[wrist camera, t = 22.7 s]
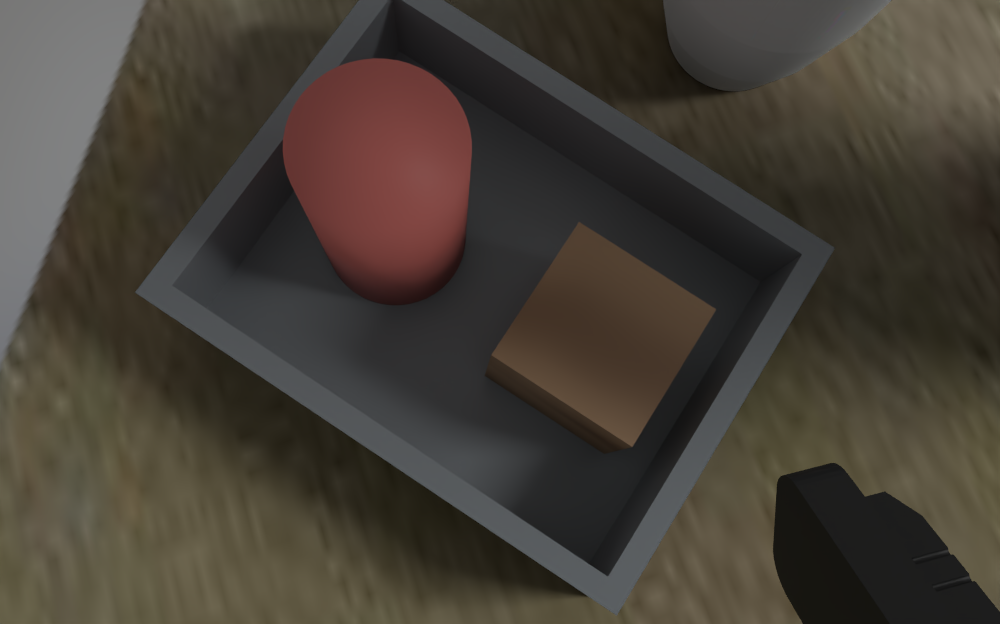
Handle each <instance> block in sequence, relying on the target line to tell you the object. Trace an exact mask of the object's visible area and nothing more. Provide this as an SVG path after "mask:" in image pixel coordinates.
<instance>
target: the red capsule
mask: <svg viewBox="0 0 1000 624" xmlns="http://www.w3.org/2000/svg"><path fill="white" fill-rule="evenodd" d="M471 157H472V139H471V132H470V127H469V124H468V120H467V117H466V115H465V113H464V111H463V108H462V107H461V105H460V103H459V102H458V100H457V98H456V97H455V96H454V95H453V93H452V92H451V91H450V90H449V88H447V87H446V86H445V85H444V84H443V83H442V82H441V81H440V80H439V79H437V78H436V77H435V76H433V75H432V74H430V73H429V72H427V71H425V70H423V69H421V68H419V67H417V66H414V65H412V64H409V63H406V62H402V61H398V60H392V59H379V58H372V59H363V60H358V61H353V62H349V63H346V64H343V65H341V66H338V67H336V68H334V69H332V70H330V71H328V72H326V73H325V74H323V75H322V76H321V77H319V78H318V79H316V80H315V81H314V82H313V83H312V84H311V85H310V86H308V88H307V89H306V90H305V91H304V92H303V93H302V94H301V96H300V97H299V99H298V100H297V102H296V103H295V105H294V106H293V108H292V111H291V113H290V115H289V117H288V120H287V123H286V126H285V131H284V137H283V158H284V165H285V169H286V173H287V176H288V178H289V181H290V183H291V185H292V187H293V189H294V191H295V193H296V195H297V197H298V199H299V201H300V203H301V205H302V207H303V209H304V211H305V213H306V215H307V217H308V219H309V221H310V223H311V225H312V227H313V229H314V231H315V233H316V235H317V237H318V239H319V241H320V242H321V244H322V246H323V248H324V250H325V252H326V254H327V256H328V258H329V260H330V262H331V264H332V266H333V268H334V270H335V271H336V273H337V275H338V276H339V278H340V279H341V280H342V281H343V283H345V284H346V285H347V286H348V287H349V288H350V289H351V290H352V291H354V292H355V293H356V294H358V295H360V296H361V297H363V298H365V299H368V300H370V301H373V302H376V303H380V304H386V305H405V304H411V303H415V302H418V301H421V300H423V299H426V298H428V297H430V296H432V295H433V294H435V293H436V292H438V291H439V290H440V289H442V288H443V287H444V286H445V285H446V284H447V283H448V282H449V281H450V279H451V278H452V277H453V276H454V274H455V272H456V271H457V269H458V267H459V265H460V262H461V260H462V257H463V253H464V248H465V240H466V226H467V212H468V198H469V184H470V171H471Z"/></svg>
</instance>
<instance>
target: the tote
mask: <svg viewBox="0 0 1000 624" xmlns="http://www.w3.org/2000/svg"><path fill="white" fill-rule="evenodd" d="M372 58H379V59H392V60H398V61H402V62H406V63H409V64H412V65H414V66H417V67H419V68H421V69H423V70H425V71H427V72H429V73H430V74H432V75H433V76H435V77H436V78H437V79H439V80H440V81H441V82H442V83H443V84H444V85H445V86H446V87H447V88H449V90H450V91H451V92H452V93H453V95H454V96H455V97H456V98H457V100H458V102H459V103H460V105H461V107H462V108H463V111H464V113H465V115H466V117H467V120H468V124H469V127H470V132H471V139H472V157H471V171H470V184H469V198H468V212H467V226H466V240H465V248H464V253H463V257H462V260H461V262H460V265H459V267H458V269H457V271H456V272H455V274H454V276H453V277H452V278H451V279H450V281H449V282H448V283H447V284H446V285H445V286H444V287H443V288H442V289H440V290H439V291H438V292H436V293H435V294H433V295H432V296H430V297H428V298H426V299H423V300H421V301H418V302H415V303H411V304H405V305H386V304H380V303H376V302H373V301H370V300H368V299H365V298H363V297H361V296H360V295H358V294H356V293H355V292H354V291H352V290H351V289H350V288H349V287H348V286H347V285H346V284H345V283H343V281H342V280H341V279H340V278H339V276H338V275H337V273H336V271H335V270H334V268H333V266H332V264H331V262H330V260H329V258H328V256H327V254H326V252H325V250H324V248H323V246H322V244H321V242H320V241H319V239H318V237H317V235H316V233H315V231H314V229H313V227H312V225H311V223H310V221H309V219H308V217H307V215H306V213H305V211H304V209H303V207H302V205H301V203H300V201H299V199H298V197H297V195H296V193H295V191H294V189H293V187H292V185H291V183H290V181H289V178H288V176H287V173H286V169H285V165H284V158H283V137H284V131H285V126H286V123H287V120H288V117H289V115H290V113H291V111H292V108H293V106H294V105H295V103H296V102H297V100H298V99H299V97H300V96H301V94H302V93H303V92H304V91H305V90H306V89H307V88H308V86H310V85H311V84H312V83H313V82H314V81H315V80H316V79H318V78H319V77H321V76H322V75H323V74H325V73H326V72H328V71H330V70H332V69H334V68H336V67H338V66H341V65H343V64H346V63H349V62H353V61H358V60H363V59H372ZM579 222H580V223H582V224H583V225H585V226H586V227H588V228H590V229H591V230H593V231H594V232H596V233H597V234H599V235H601V236H602V237H604V238H605V239H607V240H608V241H610V242H612V243H613V244H615V245H616V246H618V247H619V248H621V249H622V250H624V251H626V252H627V253H629V254H630V255H632V256H633V257H635V258H637V259H638V260H640V261H641V262H643V263H644V264H646V265H648V266H649V267H651V268H652V269H654V270H655V271H657V272H659V273H660V274H662V275H663V276H665V277H666V278H668V279H669V280H671V281H673V282H674V283H676V284H677V285H679V286H680V287H682V288H684V289H685V290H687V291H688V292H690V293H691V294H693V295H695V296H696V297H698V298H699V299H701V300H702V301H704V302H705V303H707V304H709V305H710V306H712V307H713V308H715V309H716V311H715V312H714V314H713V316H712V317H711V319H710V321H709V322H708V324H707V325H706V327H705V329H704V330H703V332H702V334H701V335H700V337H699V339H698V340H697V342H696V344H695V345H694V347H693V348H692V350H691V352H690V353H689V355H688V357H687V358H686V360H685V362H684V363H683V365H682V366H681V368H680V370H679V371H678V373H677V375H676V376H675V378H674V380H673V381H672V383H671V384H670V386H669V388H668V389H667V391H666V393H665V394H664V396H663V398H662V399H661V401H660V402H659V404H658V406H657V407H656V409H655V411H654V412H653V414H652V416H651V417H650V419H649V420H648V422H647V424H646V425H645V427H644V429H643V430H642V432H641V434H640V435H639V437H638V438H637V440H636V442H635V443H634V445H633V447H630V448H626V449H622V450H618V451H614V452H610V453H606V454H603V453H602V452H600V451H599V450H597V449H596V448H594V447H593V446H591V445H590V444H588V443H587V442H585V441H584V440H582V439H581V438H579V437H577V436H576V435H574V434H573V433H571V432H570V431H568V430H567V429H565V428H564V427H562V426H561V425H559V424H558V423H556V422H555V421H553V420H552V419H550V418H548V417H547V416H545V415H544V414H542V413H541V412H539V411H538V410H536V409H535V408H533V407H532V406H530V405H529V404H527V403H526V402H524V401H522V400H521V399H519V398H518V397H516V396H515V395H513V394H512V393H510V392H509V391H507V390H506V389H504V388H503V387H501V386H500V385H498V384H497V383H495V382H493V381H492V380H490V379H489V378H487V377H486V376H485V373H486V370H487V366H488V363H489V360H490V357H491V355H492V353H493V352H494V350H495V349H496V347H497V346H498V344H499V342H500V341H501V339H502V338H503V336H504V335H505V333H506V332H507V330H508V329H509V327H510V326H511V324H512V323H513V321H514V320H515V318H516V317H517V315H518V314H519V312H520V311H521V309H522V308H523V306H524V305H525V303H526V302H527V300H528V299H529V297H530V296H531V294H532V292H533V291H534V289H535V288H536V286H537V285H538V283H539V282H540V280H541V279H542V277H543V276H544V274H545V273H546V271H547V270H548V268H549V267H550V265H551V264H552V262H553V261H554V259H555V258H556V256H557V255H558V253H559V252H560V250H561V249H562V247H563V246H564V244H565V242H566V241H567V239H568V238H569V236H570V235H571V233H572V232H573V230H574V229H575V227H576V226H577V224H578V223H579ZM834 249H835V248H834V247H833V246H831V245H830V244H828V243H827V242H825V241H823V240H822V239H820V238H819V237H817V236H815V235H814V234H812V233H811V232H809V231H808V230H806V229H804V228H803V227H801V226H800V225H798V224H797V223H795V222H793V221H792V220H790V219H789V218H787V217H785V216H784V215H782V214H781V213H779V212H778V211H776V210H774V209H773V208H771V207H770V206H768V205H766V204H765V203H763V202H762V201H760V200H759V199H757V198H755V197H754V196H752V195H751V194H749V193H748V192H746V191H744V190H743V189H741V188H740V187H738V186H736V185H735V184H733V183H732V182H730V181H729V180H727V179H725V178H724V177H722V176H721V175H719V174H717V173H716V172H714V171H713V170H711V169H710V168H708V167H706V166H705V165H703V164H702V163H700V162H698V161H697V160H695V159H694V158H692V157H691V156H689V155H687V154H686V153H684V152H683V151H681V150H680V149H678V148H676V147H675V146H673V145H672V144H670V143H668V142H667V141H665V140H664V139H662V138H661V137H659V136H657V135H656V134H654V133H653V132H651V131H649V130H648V129H646V128H645V127H643V126H642V125H640V124H638V123H637V122H635V121H634V120H632V119H631V118H629V117H627V116H626V115H624V114H623V113H621V112H619V111H618V110H616V109H615V108H613V107H612V106H610V105H608V104H607V103H605V102H604V101H602V100H600V99H599V98H597V97H596V96H594V95H593V94H591V93H589V92H588V91H586V90H585V89H583V88H582V87H580V86H578V85H577V84H575V83H574V82H572V81H570V80H569V79H567V78H566V77H564V76H563V75H561V74H559V73H558V72H556V71H555V70H553V69H551V68H550V67H548V66H547V65H545V64H544V63H542V62H540V61H539V60H537V59H536V58H534V57H533V56H531V55H529V54H528V53H526V52H525V51H523V50H521V49H520V48H518V47H517V46H515V45H514V44H512V43H510V42H509V41H507V40H506V39H504V38H502V37H501V36H499V35H498V34H496V33H495V32H493V31H491V30H490V29H488V28H487V27H485V26H484V25H482V24H480V23H479V22H477V21H476V20H474V19H472V18H471V17H469V16H468V15H466V14H465V13H463V12H461V11H460V10H458V9H457V8H455V7H453V6H452V5H450V4H449V3H447V2H446V1H444V0H359V1H358V2H357V3H356V5H355V6H354V7H353V9H352V10H351V11H350V13H349V14H348V15H347V16H346V18H345V19H344V20H343V22H342V23H341V24H340V26H339V27H338V28H337V29H336V31H335V32H334V33H333V35H332V36H331V37H330V39H329V40H328V41H327V43H326V44H325V45H324V46H323V48H322V49H321V50H320V52H319V53H318V54H317V56H316V57H315V58H314V59H313V61H312V62H311V63H310V65H309V66H308V67H307V69H306V70H305V71H304V73H303V74H302V75H301V76H300V78H299V79H298V80H297V82H296V83H295V84H294V86H293V87H292V88H291V89H290V91H289V92H288V93H287V95H286V96H285V97H284V99H283V100H282V101H281V103H280V104H279V105H278V106H277V108H276V109H275V110H274V112H273V113H272V114H271V116H270V117H269V118H268V120H267V121H266V122H265V123H264V125H263V126H262V127H261V129H260V130H259V131H258V133H257V134H256V135H255V136H254V138H253V139H252V140H251V142H250V143H249V144H248V146H247V147H246V148H245V150H244V151H243V152H242V153H241V155H240V156H239V157H238V159H237V160H236V161H235V163H234V164H233V165H232V166H231V168H230V169H229V170H228V172H227V173H226V174H225V176H224V177H223V178H222V180H221V181H220V182H219V183H218V185H217V186H216V187H215V189H214V190H213V191H212V193H211V194H210V195H209V196H208V198H207V199H206V200H205V202H204V203H203V204H202V206H201V207H200V208H199V210H198V211H197V212H196V213H195V215H194V216H193V217H192V219H191V220H190V221H189V223H188V224H187V225H186V226H185V228H184V229H183V230H182V232H181V233H180V234H179V236H178V237H177V238H176V240H175V241H174V242H173V243H172V245H171V246H170V247H169V249H168V250H167V251H166V253H165V254H164V255H163V256H162V258H161V259H160V260H159V262H158V263H157V264H156V266H155V267H154V268H153V270H152V271H151V272H150V273H149V275H148V276H147V277H146V279H145V280H144V281H143V283H142V284H141V285H140V287H139V288H138V289H137V290H136V292H135V293H137V294H138V295H140V296H141V297H143V298H144V299H145V300H147V301H148V302H150V303H151V304H153V305H154V306H156V307H157V308H159V309H160V310H162V311H163V312H165V313H166V314H168V315H169V316H171V317H172V318H174V319H175V320H177V321H178V322H180V323H181V324H183V325H184V326H186V327H187V328H189V329H190V330H192V331H193V332H195V333H196V334H198V335H199V336H201V337H202V338H204V339H205V340H207V341H208V342H210V343H211V344H213V345H214V346H216V347H217V348H219V349H220V350H222V351H223V352H225V353H226V354H228V355H229V356H230V357H232V358H233V359H235V360H236V361H238V362H239V363H241V364H242V365H244V366H245V367H247V368H248V369H250V370H251V371H253V372H254V373H256V374H257V375H259V376H260V377H262V378H263V379H265V380H266V381H268V382H269V383H271V384H272V385H274V386H275V387H277V388H278V389H280V390H281V391H283V392H284V393H286V394H287V395H289V396H290V397H292V398H293V399H295V400H296V401H298V402H299V403H301V404H302V405H304V406H305V407H307V408H308V409H310V410H311V411H313V412H314V413H315V414H317V415H318V416H320V417H321V418H323V419H324V420H326V421H327V422H329V423H330V424H332V425H333V426H335V427H336V428H338V429H339V430H341V431H342V432H344V433H345V434H347V435H348V436H350V437H351V438H353V439H354V440H356V441H357V442H359V443H360V444H362V445H363V446H365V447H366V448H368V449H369V450H371V451H372V452H374V453H375V454H377V455H378V456H380V457H381V458H383V459H384V460H386V461H387V462H389V463H390V464H392V465H393V466H395V467H396V468H398V469H399V470H400V471H402V472H403V473H405V474H406V475H408V476H409V477H411V478H412V479H414V480H415V481H417V482H418V483H420V484H421V485H423V486H424V487H426V488H427V489H429V490H430V491H432V492H433V493H435V494H436V495H438V496H439V497H441V498H442V499H444V500H445V501H447V502H448V503H450V504H451V505H453V506H454V507H456V508H457V509H459V510H460V511H462V512H463V513H465V514H466V515H468V516H469V517H471V518H472V519H474V520H475V521H477V522H478V523H480V524H481V525H483V526H484V527H485V528H487V529H488V530H490V531H491V532H493V533H494V534H496V535H497V536H499V537H500V538H502V539H503V540H505V541H506V542H508V543H509V544H511V545H512V546H514V547H515V548H517V549H518V550H520V551H521V552H523V553H524V554H526V555H527V556H529V557H530V558H532V559H533V560H535V561H536V562H538V563H539V564H541V565H542V566H544V567H545V568H547V569H548V570H550V571H551V572H553V573H554V574H556V575H557V576H559V577H560V578H562V579H563V580H565V581H566V582H568V583H569V584H570V585H572V586H573V587H575V588H576V589H578V590H579V591H581V592H582V593H584V594H585V595H587V596H588V597H590V598H591V599H593V600H594V601H596V602H597V603H599V604H600V605H602V606H603V607H605V608H606V609H608V610H609V611H611V612H612V613H614V614H615V615H617V614H618V612H619V611H620V609H621V607H622V606H623V604H624V602H625V601H626V599H627V597H628V596H629V594H630V592H631V591H632V589H633V587H634V586H635V584H636V582H637V580H638V579H639V577H640V575H641V574H642V572H643V570H644V569H645V567H646V565H647V564H648V562H649V560H650V559H651V557H652V555H653V554H654V552H655V550H656V549H657V547H658V545H659V543H660V542H661V540H662V538H663V537H664V535H665V533H666V532H667V530H668V528H669V527H670V525H671V523H672V522H673V520H674V518H675V517H676V515H677V513H678V512H679V510H680V508H681V506H682V505H683V503H684V501H685V500H686V498H687V496H688V495H689V493H690V491H691V490H692V488H693V486H694V485H695V483H696V481H697V480H698V478H699V476H700V474H701V473H702V471H703V469H704V468H705V466H706V464H707V463H708V461H709V459H710V458H711V456H712V454H713V453H714V451H715V449H716V448H717V446H718V444H719V443H720V441H721V439H722V437H723V436H724V434H725V432H726V431H727V429H728V427H729V426H730V424H731V422H732V421H733V419H734V417H735V416H736V414H737V412H738V411H739V409H740V407H741V406H742V404H743V402H744V400H745V399H746V397H747V395H748V394H749V392H750V390H751V389H752V387H753V385H754V384H755V382H756V380H757V379H758V377H759V375H760V374H761V372H762V370H763V368H764V367H765V365H766V363H767V362H768V360H769V358H770V357H771V355H772V353H773V352H774V350H775V348H776V347H777V345H778V343H779V342H780V340H781V338H782V337H783V335H784V333H785V331H786V330H787V328H788V326H789V325H790V323H791V321H792V320H793V318H794V316H795V315H796V313H797V311H798V310H799V308H800V306H801V305H802V303H803V301H804V300H805V298H806V296H807V294H808V293H809V291H810V289H811V288H812V286H813V284H814V283H815V281H816V279H817V278H818V276H819V274H820V273H821V271H822V269H823V268H824V266H825V264H826V262H827V261H828V259H829V257H830V256H831V254H832V252H833V251H834Z"/></svg>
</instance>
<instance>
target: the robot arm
mask: <svg viewBox="0 0 1000 624" xmlns="http://www.w3.org/2000/svg"><path fill="white" fill-rule="evenodd" d="M773 554H774V561H775V566H776V570H777V573H778V576H779V579H780V582H781V584H782V587H783V589H784V591H785V593H786V595H787V597H788V599H789V600H790V602H791V604H792V606H793V607H794V609H795V611H796V612H797V614H798V616H799V618H800V619H801V621H802V623H803V624H1000V612H999V610H998V609H997V608H996V607H995V605H994V604H993V603H992V602H991V601H990V599H989V598H988V597H987V596H986V594H985V593H984V592H983V591H982V589H981V588H980V587H979V586H978V584H977V583H976V582H975V581H973V582H972V581H971V579H970V577H969V573H968V572H967V571H966V570H965V568H964V567H963V566H962V565H961V563H960V562H959V561H958V560H957V558H956V557H955V556H954V555H950V553H949V551H948V547H947V546H946V545H945V544H944V542H943V541H942V540H941V539H940V537H939V536H938V535H937V534H936V532H935V531H934V530H933V529H932V528H931V526H930V525H929V524H928V523H927V521H926V520H925V519H924V518H923V516H922V515H920V514H918V513H917V512H915V511H914V510H912V509H911V508H909V507H908V506H906V505H905V504H903V503H902V502H900V501H899V500H897V499H896V498H894V497H892V496H891V495H889V494H888V493H886V492H882V493H878V494H874V495H870V496H866V497H865V496H864V495H863V494H862V492H861V491H860V490H859V488H858V487H857V486H856V484H855V483H854V482H853V480H852V479H851V478H850V476H849V475H848V474H847V473H846V471H845V470H844V469H843V468H842V467H841V466H839V465H838V464H835V463H830V464H826V465H822V466H818V467H814V468H810V469H807V470H803V471H799V472H795V473H791V474H787V475H783V476H781V477H780V478H779V479H778V483H777V494H776V510H775V527H774V543H773Z"/></svg>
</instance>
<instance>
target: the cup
mask: <svg viewBox="0 0 1000 624" xmlns="http://www.w3.org/2000/svg"><path fill="white" fill-rule="evenodd" d="M890 1H891V0H663V5H664V12H665V19H666V26H667V34H668V40H669V44H670V47H671V50H672V52H673V54H674V56H675V58H676V60H677V61H678V63H679V64H680V65H681V67H682V68H683V69H684V70H685V71H686V72H687V73H688V74H689V75H691V76H692V77H693V78H694V79H696V80H697V81H699V82H701V83H703V84H705V85H707V86H709V87H712V88H715V89H719V90H724V91H744V90H749V89H753V88H756V87H759V86H762V85H764V84H767V83H770V82H773V81H776V80H779V79H781V78H784V77H787V76H790V75H792V74H794V73H796V72H798V71H800V70H801V69H803V68H804V67H806V66H807V65H809V64H810V63H812V62H813V61H815V60H816V59H818V58H819V57H821V56H822V55H824V54H825V53H827V52H828V51H830V50H831V49H833V48H834V47H836V46H837V45H839V44H840V43H842V42H843V41H845V40H846V39H848V38H849V37H851V36H852V35H853V34H855V33H856V32H858V31H859V30H860V29H861V28H862V27H863V26H865V25H866V24H867V23H868V22H869V21H870V20H871V19H872V18H873V17H874V16H875V15H876V14H877V13H879V12H880V11H881V10H882V9H883V8H884V7H885V6H886V5H887V4H888V3H889V2H890Z"/></svg>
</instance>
